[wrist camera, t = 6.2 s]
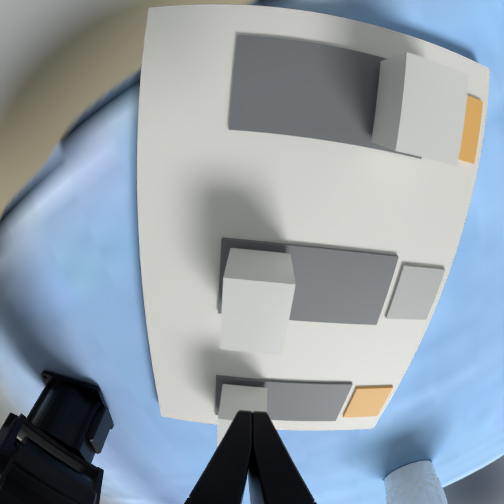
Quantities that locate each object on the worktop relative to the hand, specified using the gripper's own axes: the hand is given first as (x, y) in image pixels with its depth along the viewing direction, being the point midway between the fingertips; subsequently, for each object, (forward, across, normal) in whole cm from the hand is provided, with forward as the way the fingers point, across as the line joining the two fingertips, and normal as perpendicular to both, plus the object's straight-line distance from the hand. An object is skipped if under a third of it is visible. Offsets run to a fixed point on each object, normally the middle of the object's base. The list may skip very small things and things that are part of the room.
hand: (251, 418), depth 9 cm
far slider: (+9, 0, +10) cm, 14 cm away
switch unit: (+10, -3, 0) cm, 11 cm away
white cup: (+11, -22, +29) cm, 38 cm away
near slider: (+8, -6, -10) cm, 14 cm away
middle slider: (+9, 0, 0) cm, 9 cm away
